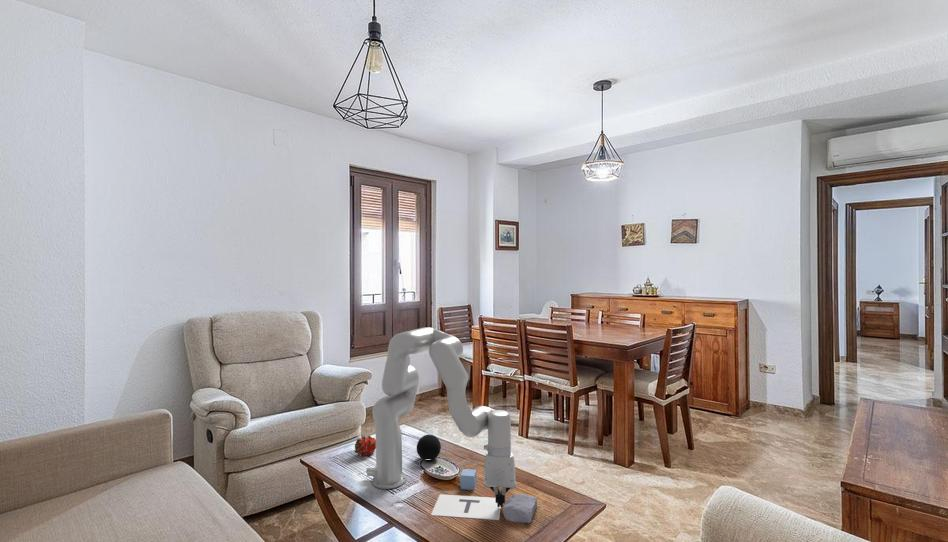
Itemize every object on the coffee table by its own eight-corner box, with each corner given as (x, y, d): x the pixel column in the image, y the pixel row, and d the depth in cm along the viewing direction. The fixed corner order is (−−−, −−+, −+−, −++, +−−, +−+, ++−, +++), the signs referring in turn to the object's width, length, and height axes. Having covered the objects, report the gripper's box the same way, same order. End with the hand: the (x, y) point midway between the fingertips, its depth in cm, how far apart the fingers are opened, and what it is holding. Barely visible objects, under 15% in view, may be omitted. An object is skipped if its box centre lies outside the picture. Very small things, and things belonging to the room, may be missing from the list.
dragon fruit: (353, 463, 187) (373, 457, 197) (366, 454, 184) (386, 448, 194) (346, 444, 190) (366, 438, 201) (359, 435, 187) (379, 430, 198)
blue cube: (460, 489, 161) (460, 475, 161) (463, 482, 166) (462, 469, 166) (474, 490, 161) (474, 476, 161) (476, 483, 166) (476, 469, 166)
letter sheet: (430, 515, 145) (430, 514, 145) (439, 494, 157) (439, 494, 157) (498, 520, 141) (498, 519, 141) (502, 498, 154) (502, 498, 154)
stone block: (502, 526, 141) (533, 524, 138) (499, 510, 142) (530, 508, 139) (510, 507, 153) (539, 506, 150) (508, 493, 153) (536, 491, 150)
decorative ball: (442, 463, 182) (441, 439, 182) (417, 465, 181) (416, 441, 180) (440, 453, 192) (439, 430, 192) (416, 455, 190) (416, 431, 190)
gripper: (475, 453, 145) (476, 509, 145) (521, 455, 143) (522, 512, 143) (478, 443, 152) (479, 497, 153) (522, 446, 150) (523, 500, 150)
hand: (500, 504), depth 148 cm, fingers closed
